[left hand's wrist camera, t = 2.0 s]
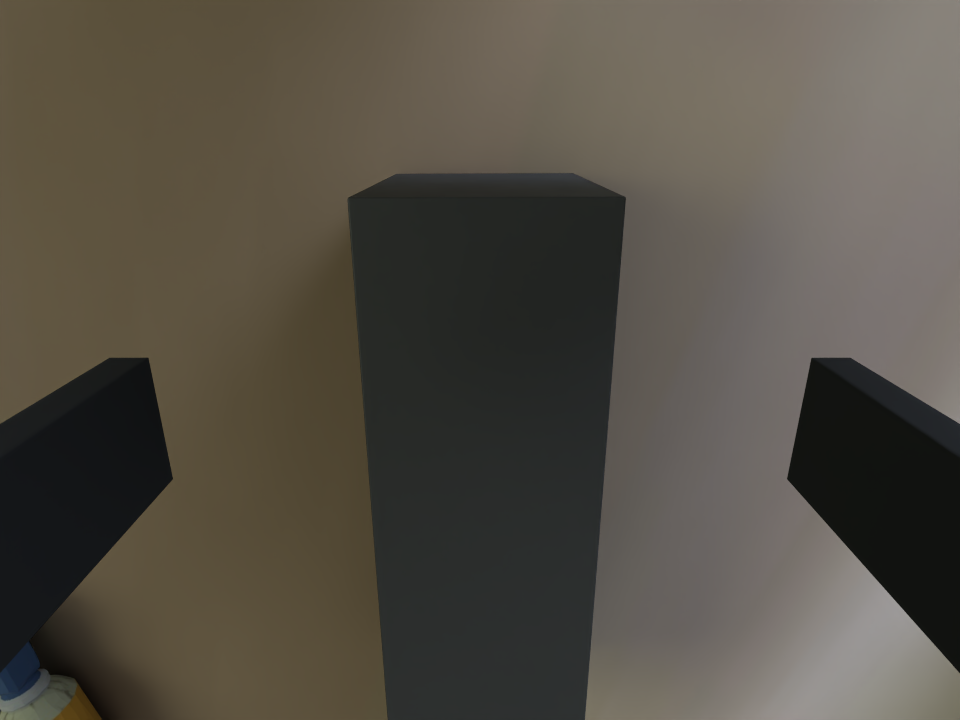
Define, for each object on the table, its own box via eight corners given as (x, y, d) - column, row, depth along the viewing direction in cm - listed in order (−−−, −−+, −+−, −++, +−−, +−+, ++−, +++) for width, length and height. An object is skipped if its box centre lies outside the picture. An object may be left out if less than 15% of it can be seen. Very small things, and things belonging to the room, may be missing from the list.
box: (395, 173, 27) (347, 197, 17) (574, 173, 27) (626, 196, 17) (419, 648, 37) (396, 836, 27) (550, 648, 37) (576, 835, 27)
